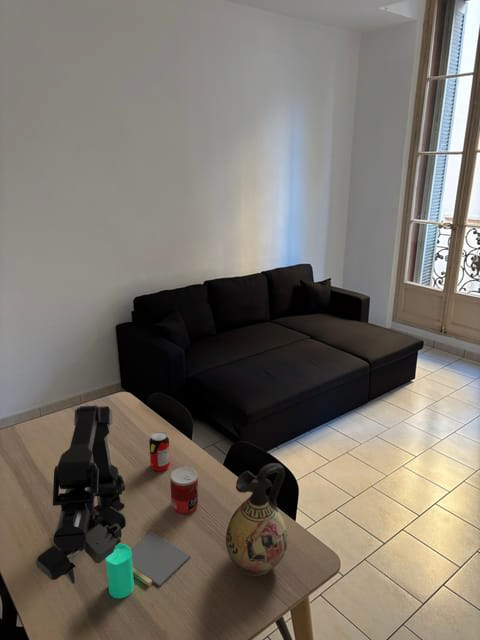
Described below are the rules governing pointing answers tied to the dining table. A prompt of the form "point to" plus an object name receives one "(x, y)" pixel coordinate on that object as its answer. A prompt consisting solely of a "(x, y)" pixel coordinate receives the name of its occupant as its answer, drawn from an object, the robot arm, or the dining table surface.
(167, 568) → the mat
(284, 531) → the ceramic jug
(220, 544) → the dining table surface
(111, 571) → the candle
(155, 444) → the beverage can
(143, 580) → the strip
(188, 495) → the canned food
